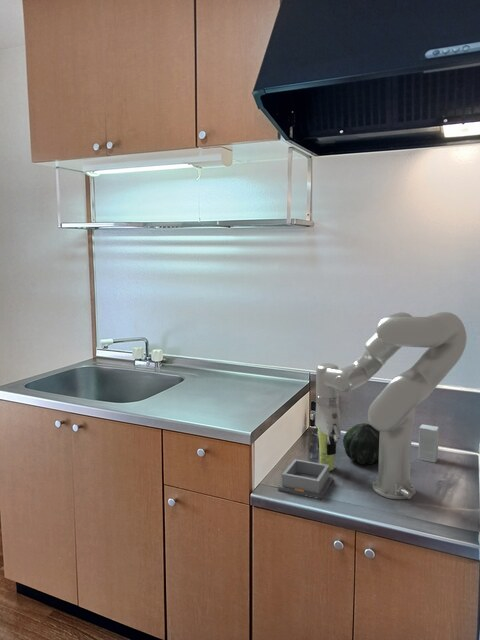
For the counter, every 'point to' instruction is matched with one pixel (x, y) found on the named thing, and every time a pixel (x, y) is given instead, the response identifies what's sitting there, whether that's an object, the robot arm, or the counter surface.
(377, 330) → the robot arm
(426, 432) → the skincare box
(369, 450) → the squash
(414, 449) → the counter surface
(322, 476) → the socket
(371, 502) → the counter surface
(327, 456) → the tube
